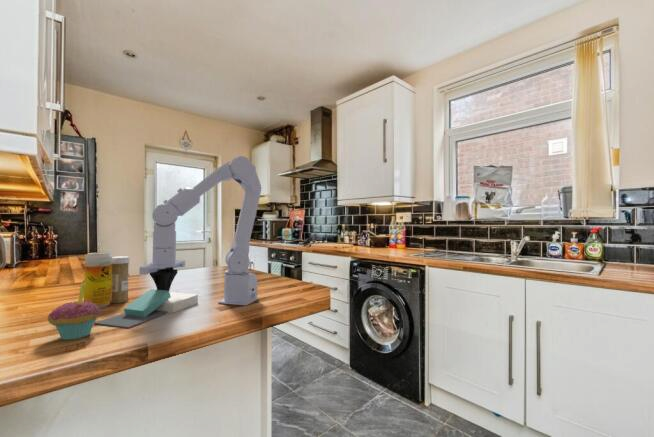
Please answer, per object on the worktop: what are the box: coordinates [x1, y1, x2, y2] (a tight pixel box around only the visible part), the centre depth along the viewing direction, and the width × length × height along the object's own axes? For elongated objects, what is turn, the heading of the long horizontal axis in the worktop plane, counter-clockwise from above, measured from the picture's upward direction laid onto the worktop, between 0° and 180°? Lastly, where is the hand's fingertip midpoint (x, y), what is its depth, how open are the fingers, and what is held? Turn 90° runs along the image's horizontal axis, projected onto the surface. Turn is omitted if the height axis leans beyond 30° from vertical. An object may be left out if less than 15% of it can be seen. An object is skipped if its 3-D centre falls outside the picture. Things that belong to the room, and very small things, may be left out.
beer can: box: [83, 251, 113, 309], centre depth 84 cm, size 6×6×15 cm
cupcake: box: [47, 279, 101, 341], centre depth 63 cm, size 9×8×12 cm
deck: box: [155, 291, 199, 314], centre depth 86 cm, size 12×10×2 cm
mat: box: [93, 310, 170, 329], centre depth 75 cm, size 10×12×1 cm
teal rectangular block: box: [123, 288, 171, 318], centre depth 79 cm, size 6×9×2 cm, turn 166°
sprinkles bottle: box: [110, 255, 130, 304], centre depth 89 cm, size 5×5×14 cm
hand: (163, 295), depth 84 cm, fingers closed
